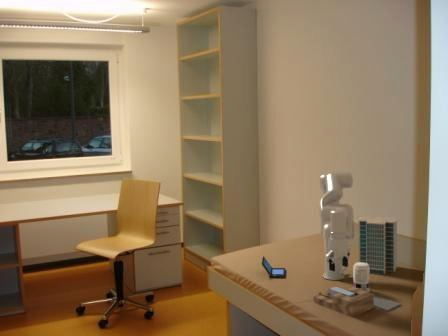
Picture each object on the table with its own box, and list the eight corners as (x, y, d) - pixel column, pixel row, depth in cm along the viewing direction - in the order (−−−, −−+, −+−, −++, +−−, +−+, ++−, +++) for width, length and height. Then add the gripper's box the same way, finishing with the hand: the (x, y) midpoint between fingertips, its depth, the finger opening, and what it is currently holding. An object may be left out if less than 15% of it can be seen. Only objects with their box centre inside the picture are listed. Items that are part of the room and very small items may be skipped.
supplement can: (350, 290, 256) (350, 263, 255) (362, 287, 260) (362, 260, 258) (360, 295, 249) (360, 267, 247) (372, 292, 252) (372, 264, 251)
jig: (313, 302, 243) (313, 288, 242) (334, 294, 252) (334, 281, 252) (352, 317, 224) (352, 302, 223) (373, 307, 233) (373, 293, 232)
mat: (369, 295, 249) (369, 293, 249) (400, 305, 235) (400, 303, 235) (356, 300, 243) (356, 299, 242) (387, 311, 228) (387, 310, 228)
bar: (329, 296, 242) (329, 288, 241) (335, 294, 244) (335, 286, 244) (348, 303, 232) (348, 295, 232) (354, 301, 235) (354, 293, 234)
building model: (357, 271, 285) (357, 222, 282) (362, 263, 300) (361, 216, 297) (393, 275, 277) (393, 224, 273) (396, 266, 292) (396, 218, 288)
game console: (285, 278, 279) (285, 263, 278) (261, 278, 281) (261, 263, 280) (285, 270, 295) (285, 255, 293) (263, 269, 296) (262, 255, 295)
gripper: (343, 230, 244) (344, 263, 246) (320, 236, 234) (321, 270, 236) (355, 233, 238) (356, 266, 240) (332, 239, 228) (333, 274, 230)
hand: (338, 268), depth 238 cm, fingers open, 9 cm apart
